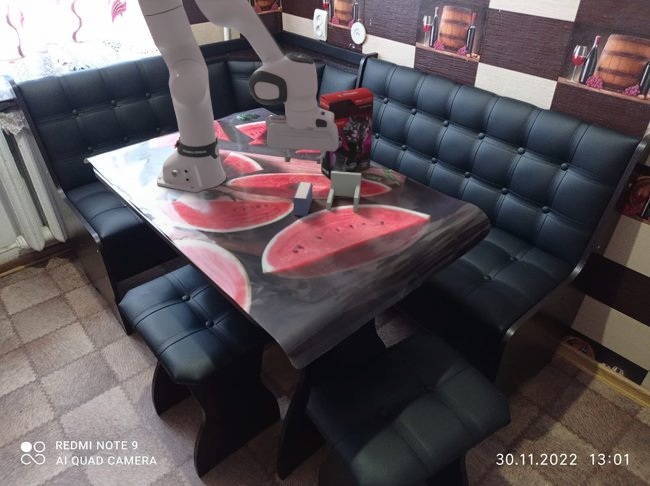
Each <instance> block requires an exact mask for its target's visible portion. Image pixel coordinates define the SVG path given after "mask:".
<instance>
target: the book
mask: <svg viewBox="0 0 650 486" xmlns="http://www.w3.org/2000/svg"><path fill="white" fill-rule="evenodd" d="M312 201H313V182H306V181H299V183H298V185H297V188H296V190H295V193H294V196H293V201H292V202H293V216H302V217H303V216H304V217H305V216H306V217H308V213H309V211H310V208H311V204H312Z"/></svg>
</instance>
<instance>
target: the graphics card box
mask: <svg viewBox="0 0 650 486" xmlns="http://www.w3.org/2000/svg"><path fill="white" fill-rule="evenodd" d="M374 97H375V94H374V93H373V91H371V90H369V88H368V89H367V88H365V87H364V86H363V87H359V88H355V89H349V90H343V91H337V92H332V93H327V94H321V95H320V97H319V102H320V103H319V105H320V107H319V108H322V109H324V110H327V111H330V112H332V113H334V123H335V124H336V126H337V129H338V136H339V145H338V148H337V150H336V151H326V154H325V155H324V157H323V162H322V164H320V170H321V171H320V172H321V174H323V175H325V176H326V177H327V178H328V179H329V180H331V171H338V172H351V173H358V172H360V171H364V170H367V169H371V162H372V161H371V157H372V136H373V134H372V133H373V117H374V116H373V113H374V100H375V98H374Z"/></svg>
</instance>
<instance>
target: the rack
mask: <svg viewBox="0 0 650 486" xmlns="http://www.w3.org/2000/svg"><path fill="white" fill-rule="evenodd" d="M361 185H362V173H361V172H353V173H351V172H338V171H331V179H330V188H329V189H330V190H329V193H328V196H327V199H326V210H327V209H328V210H327V211H331V209H332V205H333V202H334V198H335V197H336V196H338V197H348V198H353V205H352V206H353V209H352V212H353V213H358V209H359V208H358V207H359V203H360V198H361Z"/></svg>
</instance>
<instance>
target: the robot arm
mask: <svg viewBox="0 0 650 486" xmlns="http://www.w3.org/2000/svg"><path fill="white" fill-rule="evenodd" d="M137 2H138V5H139V8H140V11H141V13H142V16H143V19H144V21H145V23H146V26H147V28H148V30H149V33H150V35H151V38H152V40H153V42H154V45H155V46H156V48H157V49H158V52H159V53H160V55H161V57H162V59H163V61H164V63H165V64H166V67H167V69H168V71H169V73H168V74H169V77H168V78H169V79H168V87H169V91H170V96H171V100H172V105H173V109H174V112H175V116H176V122H177V127H178V132H179V137H178V139H176V141H175V143H174V145H173V148H174V149H176V150H175V151H174V152H173V153H171V154H170V155H169V156H168V157H167V158H166V159H165V161H163V165H162V170H161V172H160V173H159V174H158V176H157V177H156V184H157V185H158V186H160V187H167V188H169V189H170V188H171V189H176V190H180V191H185V192H189V193H190V192H191V193H199V192H201V191H203V190H207V189H212V188H215V187H217V186H219V185H221V184H223V182H225V181H226V179H227V175H226V173H225V170H224V169H223V166H222V162H221V158H220V144H219V140H218V136H217V135H216V126H215V121H214V118H215V117H214V114H213V113H214V112H213V106H212V99H211V93H210V92H211V91H210V81H209V70H208V66H207V63H206V61H205V57H204V56H203V53H202V51H201V48H200V46H199V43H198V42H197V41H198V40H197V39H196V37H195V35H194V32H193V29H192V27H191V23H190V20H189V17H188V15H187V12H186V10H185V7H184V4H183V1H182V0H137ZM194 2H195V3H196V5H197V7H198V8H199V10H200V12H201V13H202V14H203V15H204V17H205V18H206V19H207V20H208V21H209V22H210V23H211V24H213V25H215V26H217V27H220V28H225V29H226V28H227V29H230V30H233V31H236V32H238V33H240V34H241V35H242V36H244V37H245V38H246V40H247V42H249V44H250V46H251V47H252V49H253V50H254V51H255V53H256V55H258V57H259V59H260V60H261V62H262V66H260V67H258V68H257V69H256V70H255V71H254V72H253V73H252V74H251V75H250V76H249V79H248V91H249V93H250V95H251V96H252V98H253V99H254V100H255V101H256V102H257V103H259V104H262V105H264V106H265V105H266V106H267V105H268V106H269V105H270V106H271V105H280V104H284V110H285V114H284V115H281V114H280V115H278V114H277V115H276V114H270V115H269V116H267V117H266V118H265V127H266V129H267V134H266V143H267V146H268V147H269V148H270V149H279V152H280V153H281V155H282V156H283V157H284V162H285V163H291V159H292V158H291V157H292V156H291V154H289V153H288V152H287V151H286V150H305V151H320V155H317V157H316V164H317V165H321V164H322V162H323V157H324V155H325V154H326V151H336V150H337V148H338V145H339V136H338V129H337V126H336V124H335V123H334V113H332V112H330V111H327V110H324V109H322V108H320V107H319V106H318V105H319V104H318V100H317V95H318V74H317V69H316V68H317V67H316V63H315V61H314V59H313V58H312V57H311V56H309V55H308V54H306V53H302V52H290V53H289V52H288V53H287V52H285V51H284V49H282V48H281V46H280V45H279V44H278V41H277V40H276V38H275V37H274V35H273V34H272V33H271V31H270V30H269V28H268V27H267V25H266V24H265V22H264V21H263V19H262V17H261V16H260V15H259V13H258V12H257V10H256V9H255V8H254V7H253V6H252V5H251V3H250V2H249V0H194Z"/></svg>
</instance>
